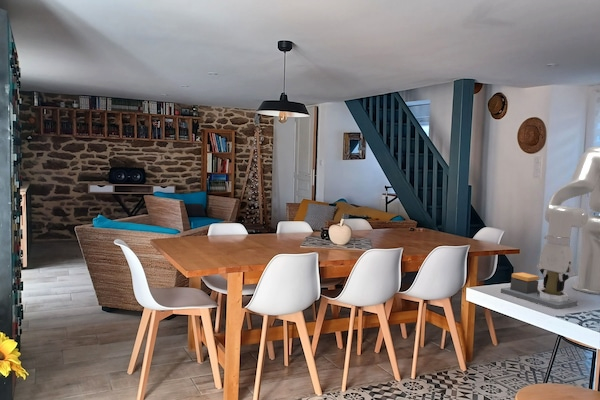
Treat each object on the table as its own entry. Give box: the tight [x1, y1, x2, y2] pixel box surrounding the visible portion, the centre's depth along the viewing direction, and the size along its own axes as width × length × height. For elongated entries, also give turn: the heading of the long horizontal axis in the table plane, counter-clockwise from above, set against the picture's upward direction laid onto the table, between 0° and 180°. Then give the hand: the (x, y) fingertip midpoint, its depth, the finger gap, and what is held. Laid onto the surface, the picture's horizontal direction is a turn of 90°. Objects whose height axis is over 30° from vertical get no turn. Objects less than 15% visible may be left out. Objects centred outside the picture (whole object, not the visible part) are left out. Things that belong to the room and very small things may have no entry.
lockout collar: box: [537, 287, 569, 303], centre depth 185 cm, size 10×10×2 cm
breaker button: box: [511, 271, 540, 281], centre depth 195 cm, size 7×7×4 cm
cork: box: [544, 270, 561, 295], centre depth 185 cm, size 6×6×11 cm
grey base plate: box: [500, 277, 578, 310], centre depth 190 cm, size 13×23×6 cm, turn 33°
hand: (553, 288), depth 185 cm, fingers open, 4 cm apart
